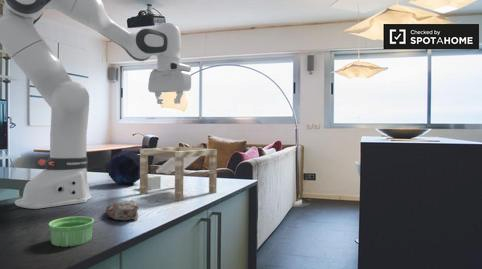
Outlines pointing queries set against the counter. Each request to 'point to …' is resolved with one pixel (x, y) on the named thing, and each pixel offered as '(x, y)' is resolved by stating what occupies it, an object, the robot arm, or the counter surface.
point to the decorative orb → (124, 168)
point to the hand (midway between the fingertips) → (168, 103)
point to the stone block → (154, 182)
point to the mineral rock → (123, 210)
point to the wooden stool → (178, 166)
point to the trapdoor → (171, 164)
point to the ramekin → (71, 231)
